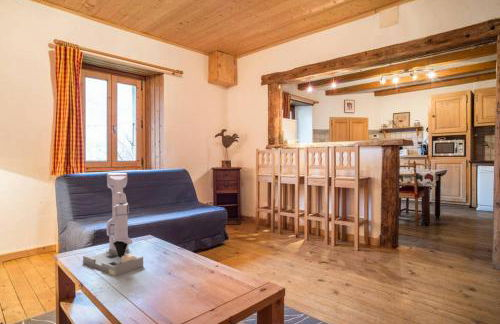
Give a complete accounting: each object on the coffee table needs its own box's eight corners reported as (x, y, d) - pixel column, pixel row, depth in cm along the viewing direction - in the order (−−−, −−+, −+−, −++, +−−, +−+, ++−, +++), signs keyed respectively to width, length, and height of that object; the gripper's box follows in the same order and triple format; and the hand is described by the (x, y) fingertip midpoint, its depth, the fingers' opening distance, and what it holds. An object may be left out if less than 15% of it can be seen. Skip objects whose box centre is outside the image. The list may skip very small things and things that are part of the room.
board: (110, 255, 154) (110, 246, 154) (143, 266, 138) (143, 256, 138) (83, 263, 142) (83, 253, 142) (115, 276, 127) (115, 265, 127)
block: (129, 262, 138) (129, 254, 138) (134, 264, 136) (134, 255, 136) (121, 264, 135) (121, 256, 135) (126, 266, 132) (126, 258, 132)
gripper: (104, 228, 140) (104, 255, 141) (122, 232, 132) (122, 262, 133) (118, 225, 146) (118, 252, 146) (136, 229, 138) (135, 257, 138)
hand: (121, 256), depth 140 cm, fingers closed
